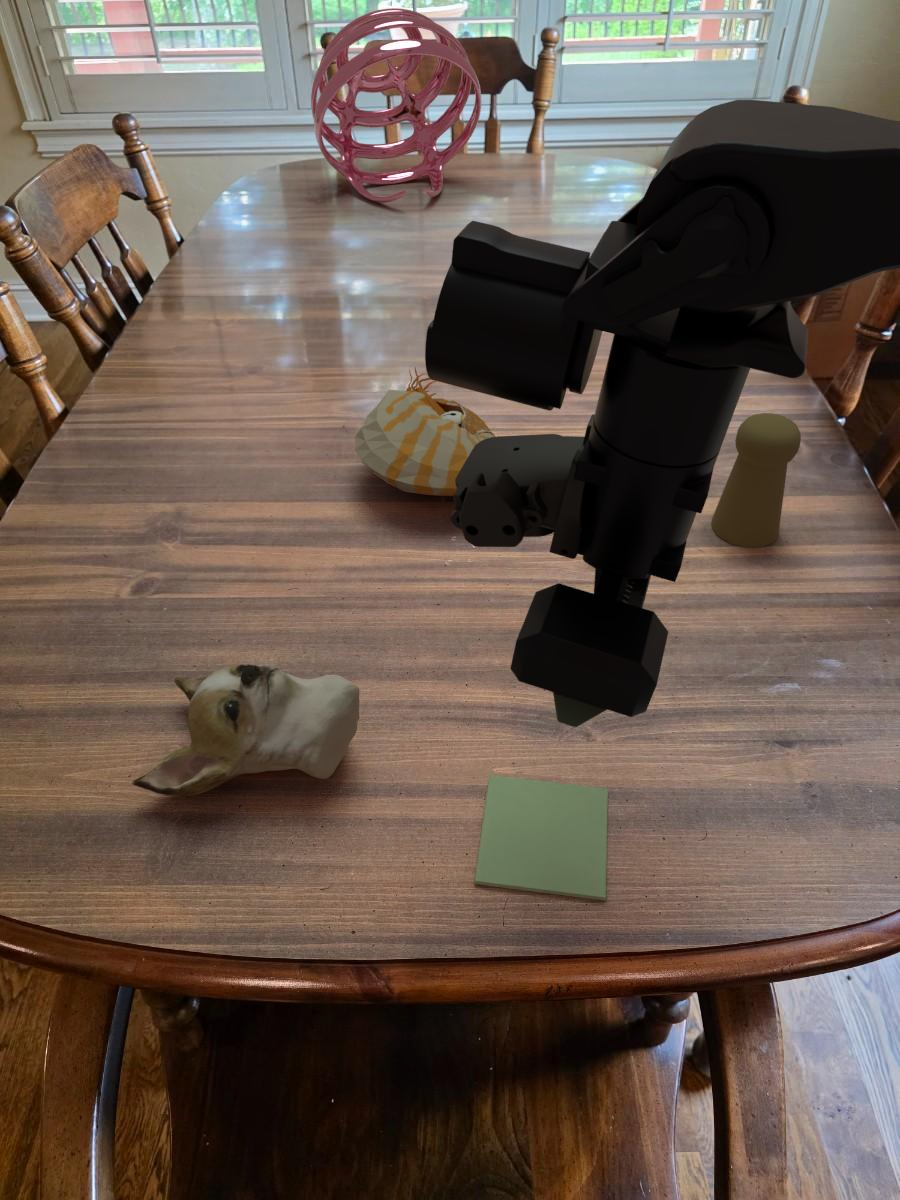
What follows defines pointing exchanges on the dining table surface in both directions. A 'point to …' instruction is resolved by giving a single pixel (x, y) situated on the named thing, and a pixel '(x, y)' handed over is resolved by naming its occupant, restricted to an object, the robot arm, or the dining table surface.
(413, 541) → the dining table surface
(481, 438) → the nautilus
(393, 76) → the spiral basket
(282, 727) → the ceramic sculpture
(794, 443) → the olive pawn
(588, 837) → the coaster
